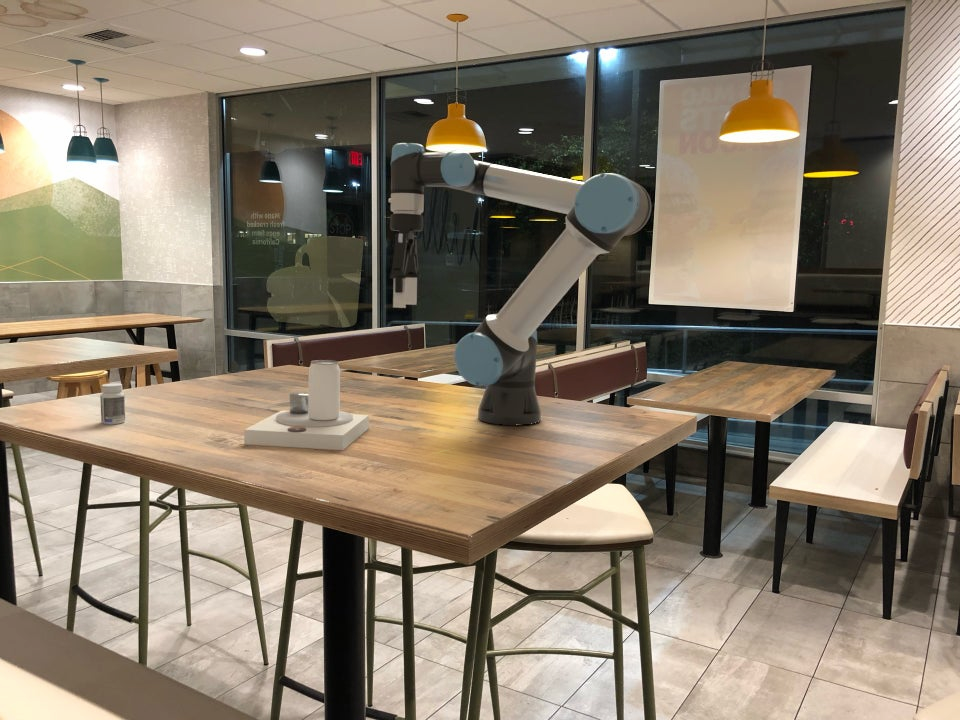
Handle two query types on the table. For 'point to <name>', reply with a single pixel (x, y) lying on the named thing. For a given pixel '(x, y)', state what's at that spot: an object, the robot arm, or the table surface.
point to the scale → (306, 431)
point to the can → (324, 390)
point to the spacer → (299, 403)
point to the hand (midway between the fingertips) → (405, 306)
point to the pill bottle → (112, 404)
